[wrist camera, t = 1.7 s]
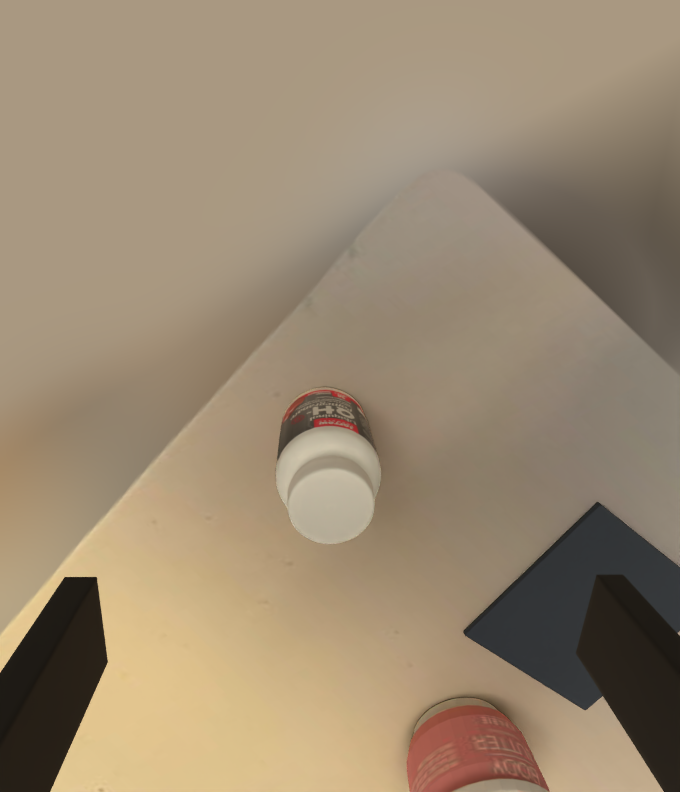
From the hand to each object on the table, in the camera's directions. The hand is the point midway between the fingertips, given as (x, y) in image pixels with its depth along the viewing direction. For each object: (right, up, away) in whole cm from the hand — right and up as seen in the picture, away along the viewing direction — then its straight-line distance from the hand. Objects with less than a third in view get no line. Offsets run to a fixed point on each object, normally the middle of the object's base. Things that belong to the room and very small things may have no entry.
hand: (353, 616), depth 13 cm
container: (+10, -22, +28) cm, 37 cm away
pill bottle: (-1, +4, +18) cm, 19 cm away
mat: (+19, -11, +25) cm, 33 cm away
